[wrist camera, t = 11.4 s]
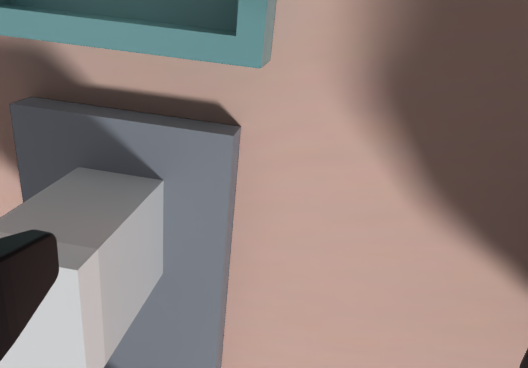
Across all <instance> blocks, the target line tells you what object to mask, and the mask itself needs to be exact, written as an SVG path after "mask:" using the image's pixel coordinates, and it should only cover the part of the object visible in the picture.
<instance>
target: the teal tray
mask: <svg viewBox="0 0 528 368" xmlns="http://www.w3.org/2000/svg"><path fill="white" fill-rule="evenodd" d="M275 10H276V0H0V35H3V36H11V37H19V38H26V39H34V40H42V41H50V42H58V43H65V44H73V45H81V46H89V47H97V48H105V49H112V50H120V51H128V52H136V53H144V54H151V55H159V56H167V57H175V58H183V59H190V60H198V61H206V62H214V63H222V64H229V65H237V66H245V67H253V68H262V67H263V66H264V65H265V64H267V63H268V62H269V61H270V58H271V48H272V39H273V29H274V20H275Z"/></svg>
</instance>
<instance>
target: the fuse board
mask: <svg viewBox="0 0 528 368" xmlns="http://www.w3.org/2000/svg"><path fill="white" fill-rule="evenodd" d="M9 105H10V112H11V119H12V126H13V133H14V141H15V148H16V155H17V162H18V169H19V176H20V183H21V190H22V197H23V203H24V202H25V201H27V200H28V199H30V198H31V197H33V196H34V195H36V194H38V193H39V192H41V191H42V190H44V189H45V188H47V187H48V186H50V185H51V184H53V183H55V182H56V181H58V180H59V179H61V178H62V177H64V176H65V175H67V174H68V173H70V172H72V171H73V170H75V169H76V168H78V167H82V168H88V169H94V170H101V171H107V172H113V173H120V174H126V175H133V176H139V177H145V178H152V179H158V180H164V187H163V274H162V276H161V277H160V279H159V280H158V282H157V284H156V285H155V287H154V288H153V290H152V292H151V293H150V295H149V296H148V298H147V299H146V301H145V303H144V304H143V306H142V307H141V309H140V311H139V312H138V314H137V315H136V317H135V319H134V320H133V322H132V323H131V325H130V327H129V328H128V330H127V331H126V333H125V334H124V336H123V338H122V339H121V341H120V342H119V344H118V346H117V347H116V349H115V350H114V352H113V354H112V355H111V357H110V358H109V360H108V362H107V363H106V365H105V366H104V368H221V362H222V350H223V338H224V325H225V313H226V301H227V289H228V277H229V265H230V253H231V241H232V228H233V216H234V204H235V192H236V180H237V168H238V156H239V144H240V131H241V126H234V125H227V124H220V123H213V122H206V121H199V120H192V119H185V118H178V117H171V116H164V115H157V114H150V113H142V112H135V111H128V110H121V109H114V108H107V107H100V106H93V105H86V104H79V103H72V102H65V101H58V100H51V99H44V98H37V97H29V98H26V99H23V100H19V101H16V102H13V103H10V104H9Z"/></svg>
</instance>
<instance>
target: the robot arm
mask: <svg viewBox="0 0 528 368" xmlns="http://www.w3.org/2000/svg"><path fill="white" fill-rule="evenodd" d="M58 273H59V259H58V248H57V239H56V237H55V235H54V234H53V233H51V232H46V231H41V230H36V229H32V230H28V231H24V232H20V233H17V234H13V235H10V236H6V237H2V238H0V361H1V360H2V359H3V357H4V356H5V355H6V354H7V352H8V351H9V350H10V348H11V347H12V346H13V344H14V343H15V341H16V340H17V339H18V337H19V336H20V334H21V333H22V331H23V330H24V328H25V327H26V325H27V324H28V322H29V321H30V319H31V318H32V316H33V315H34V313H35V311H36V310H37V308H38V307H39V305H40V304H41V302H42V301H43V299H44V298H45V296H46V295H47V293H48V292H49V290H50V289H51V287H52V286H53V284H54V283H55V281H56V279H57V277H58ZM520 368H528V349H527V351H526V353H525V355H524V357H523V359H522V362H521V364H520Z"/></svg>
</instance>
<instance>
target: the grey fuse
mask: <svg viewBox="0 0 528 368" xmlns="http://www.w3.org/2000/svg"><path fill="white" fill-rule="evenodd" d="M163 187H164V180H158V179H152V178H145V177H139V176H133V175H126V174H120V173H113V172H107V171H101V170H94V169H88V168H82V167H78V168H76V169H75V170H73V171H72V172H70V173H68V174H67V175H65V176H64V177H62V178H61V179H59V180H58V181H56V182H55V183H53V184H51V185H50V186H48V187H47V188H45V189H44V190H42V191H41V192H39V193H38V194H36V195H34V196H33V197H31V198H30V199H28V200H27V201H25V202H24V203H22V204H20V205H19V206H17V207H16V208H14V209H13V210H11V211H10V212H8V213H7V214H5V215H3V216H2V217H0V238H2V237H6V236H10V235H13V234H17V233H20V232H24V231H28V230H32V229H36V230H41V231H46V232H51V233H53V234H54V235H55V237H56V239H57V248H58V259H59V273H58V277H57V279H56V281H55V283H54V284H53V286H52V287H51V289H50V290H49V292H48V293H47V295H46V296H45V298H44V299H43V301H42V302H41V304H40V305H39V307H38V308H37V310H36V311H35V313H34V315H33V316H32V318H31V319H30V321H29V322H28V324H27V325H26V327H25V328H24V330H23V331H22V333H21V334H20V336H19V337H18V339H17V340H16V341H15V343H14V344H13V346H12V347H11V348H10V350H9V351H8V352H7V354H6V355H5V356H4V357H3V359H2V360H1V361H0V368H104V366H105V365H106V363H107V362H108V360H109V358H110V357H111V355H112V354H113V352H114V350H115V349H116V347H117V346H118V344H119V342H120V341H121V339H122V338H123V336H124V334H125V333H126V331H127V330H128V328H129V327H130V325H131V323H132V322H133V320H134V319H135V317H136V315H137V314H138V312H139V311H140V309H141V307H142V306H143V304H144V303H145V301H146V299H147V298H148V296H149V295H150V293H151V292H152V290H153V288H154V287H155V285H156V284H157V282H158V280H159V279H160V277H161V276H162V274H163Z"/></svg>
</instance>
